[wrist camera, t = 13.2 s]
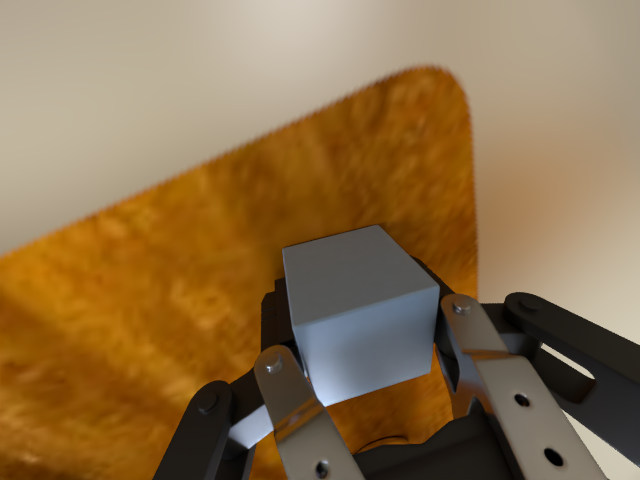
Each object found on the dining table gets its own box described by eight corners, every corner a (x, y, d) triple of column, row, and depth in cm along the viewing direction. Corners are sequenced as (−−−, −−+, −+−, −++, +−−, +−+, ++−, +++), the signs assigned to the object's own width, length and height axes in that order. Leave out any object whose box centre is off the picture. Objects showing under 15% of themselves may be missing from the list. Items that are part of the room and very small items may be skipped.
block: (281, 247, 11) (291, 328, 7) (378, 223, 11) (441, 285, 7) (302, 318, 13) (319, 409, 9) (381, 295, 13) (430, 373, 9)
